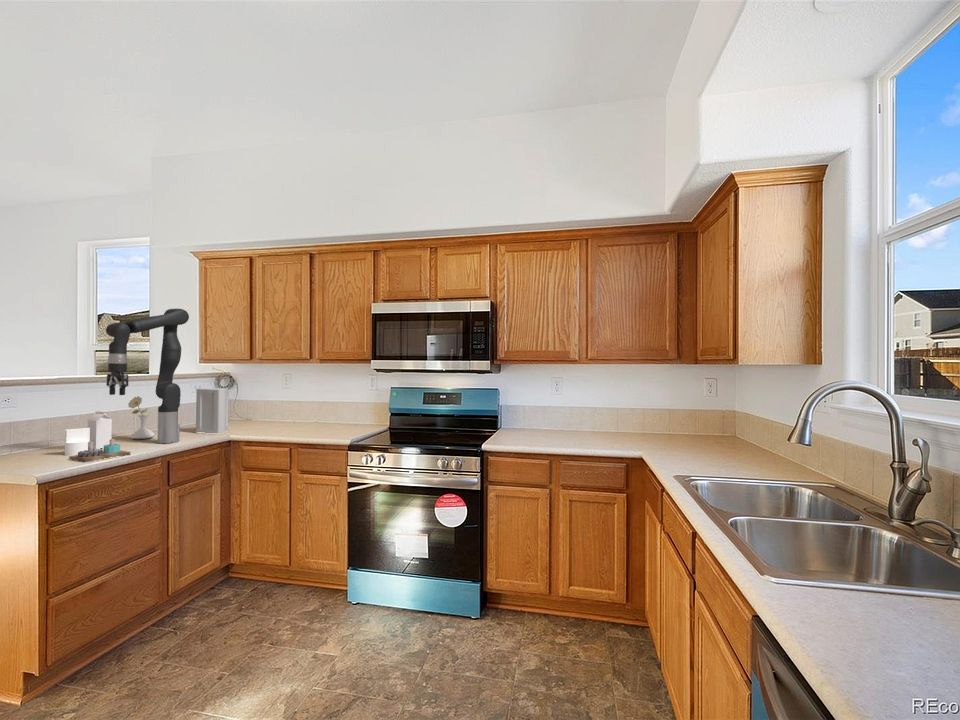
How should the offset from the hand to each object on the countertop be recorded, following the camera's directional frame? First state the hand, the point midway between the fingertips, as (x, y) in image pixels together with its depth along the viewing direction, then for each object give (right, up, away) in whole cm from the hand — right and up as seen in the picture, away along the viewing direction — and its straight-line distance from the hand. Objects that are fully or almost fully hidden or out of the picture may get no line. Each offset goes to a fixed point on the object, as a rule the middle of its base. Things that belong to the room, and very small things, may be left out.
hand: (117, 394), depth 226 cm
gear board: (+5, -28, -16) cm, 32 cm away
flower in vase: (-15, -29, +36) cm, 48 cm away
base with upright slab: (-13, -28, -8) cm, 32 cm away
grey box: (+14, -29, +63) cm, 70 cm away
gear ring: (+7, -27, -12) cm, 30 cm away
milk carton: (-14, -28, +6) cm, 32 cm away
